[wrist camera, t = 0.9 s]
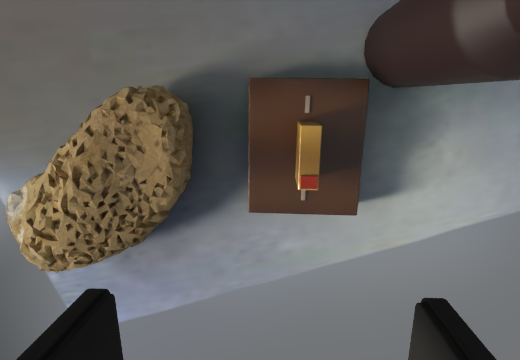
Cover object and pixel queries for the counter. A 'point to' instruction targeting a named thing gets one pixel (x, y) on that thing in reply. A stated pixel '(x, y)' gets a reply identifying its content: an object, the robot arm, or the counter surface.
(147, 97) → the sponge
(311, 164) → the thumbturn
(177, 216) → the counter surface
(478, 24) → the bottle
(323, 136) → the lock plate
